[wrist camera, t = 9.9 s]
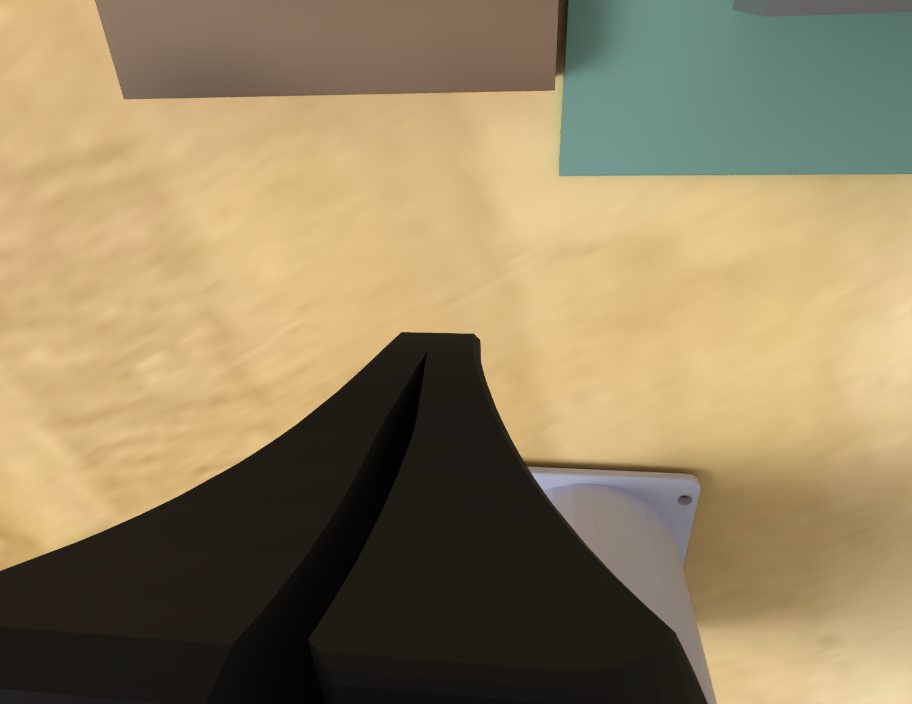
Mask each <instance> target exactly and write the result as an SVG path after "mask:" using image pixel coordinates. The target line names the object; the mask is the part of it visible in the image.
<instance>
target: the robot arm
mask: <svg viewBox="0 0 912 704" xmlns="http://www.w3.org/2000/svg"><path fill="white" fill-rule="evenodd" d="M700 491H701V486H700V483H699V480H698V479H697V477H695V476H694V475H691V474H683V473H661V472H638V471H615V470H593V469H570V468H547V467H527V466H526V464H525V462H524V461H523V459H522V458H521V456H520V454H519V452H518V451H517V449H516V447H515V445H514V443H513V442H512V440H511V438H510V436H509V434H508V432H507V430H506V428H505V426H504V424H503V422H502V420H501V418H500V415H499V413H498V411H497V409H496V406H495V404H494V401H493V398H492V396H491V393H490V391H489V388H488V385H487V382H486V379H485V376H484V372H483V368H482V364H481V345H480V339H479V338H478V337H476V336H475V335H474V334H458V333H411V332H401V333H400V334H399V335H398V336H397V337H396V338H395V339H394V340H393V341H392V342H390V343H389V344H388V345H387V346H386V347H385V348H384V349H383V350H382V351H381V352H380V353H379V354H378V355H377V356H376V357H375V358H374V359H373V360H371V361H370V362H369V363H368V364H367V365H366V366H365V367H364V368H363V369H362V370H361V371H360V372H359V373H358V374H357V375H355V376H354V377H353V378H352V379H351V380H350V381H349V382H348V383H347V384H345V385H344V386H343V387H342V388H341V389H340V390H339V391H338V392H337V393H335V394H334V395H333V396H332V397H330V398H329V399H328V400H327V401H325V402H324V403H323V404H322V405H320V406H319V407H318V408H317V409H315V410H314V411H313V412H312V413H310V414H309V415H308V416H307V417H305V418H304V419H303V420H302V421H300V422H299V423H298V424H297V425H295V426H294V427H292V428H291V429H290V430H288V431H287V432H285V433H284V434H283V435H281V436H280V437H278V438H277V439H275V440H274V441H272V442H271V443H269V444H268V445H266V446H265V447H263V448H262V449H260V450H259V451H257V452H256V453H254V454H252V455H251V456H249V457H248V458H246V459H245V460H243V461H241V462H240V463H238V464H236V465H235V466H233V467H231V468H229V469H227V470H226V471H224V472H222V473H220V474H218V475H216V476H215V477H213V478H211V479H209V480H207V481H206V482H204V483H202V484H200V485H198V486H197V487H195V488H193V489H191V490H189V491H187V492H186V493H184V494H182V495H180V496H178V497H176V498H174V499H172V500H170V501H168V502H166V503H164V504H162V505H160V506H158V507H156V508H154V509H151V510H149V511H147V512H145V513H143V514H141V515H139V516H137V517H134V518H132V519H130V520H128V521H125V522H123V523H121V524H119V525H116V526H114V527H112V528H110V529H107V530H105V531H103V532H100V533H98V534H96V535H93V536H91V537H88V538H86V539H83V540H81V541H79V542H76V543H74V544H71V545H68V546H66V547H63V548H60V549H58V550H55V551H52V552H50V553H47V554H44V555H42V556H39V557H36V558H34V559H31V560H28V561H26V562H23V563H20V564H18V565H15V566H12V567H10V568H7V569H4V570H2V571H0V704H717V702H716V698H715V694H714V690H713V686H712V682H711V678H710V674H709V670H708V666H707V662H706V658H705V654H704V650H703V646H702V642H701V638H700V634H699V630H698V626H697V622H696V618H695V614H694V611H693V607H692V603H691V599H690V595H689V591H688V587H687V583H686V579H685V575H684V571H683V565H684V561H685V556H686V552H687V548H688V543H689V539H690V535H691V530H692V526H693V522H694V517H695V513H696V509H697V504H698V500H699V496H700ZM683 495H688V496H687V497H685V498H680V496H683Z"/></svg>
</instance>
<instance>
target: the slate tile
mask: <svg viewBox="0 0 912 704" xmlns="http://www.w3.org/2000/svg"><path fill="white" fill-rule="evenodd" d="M732 10H734V11H739V12H744V13H749V14H754V15H759V16H763V17H777V16H807V15H838V14H869V13H900V12H912V0H734V4H733V9H732Z"/></svg>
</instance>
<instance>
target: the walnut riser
mask: <svg viewBox="0 0 912 704" xmlns="http://www.w3.org/2000/svg"><path fill="white" fill-rule="evenodd" d="M95 2H96V5H97V9H98V12H99V16H100V19H101V22H102V26H103V29H104V32H105V36H106V39H107V43H108V46H109V49H110V53H111V56H112V60H113V63H114V66H115V70H116V73H117V77H118V80H119V83H120V87H121V90H122V93H123V97H124V99H158V98H207V97H256V96H305V95H353V94H402V93H451V92H500V91H549V90H555V72H556V49H557V27H558V4H559V0H95Z"/></svg>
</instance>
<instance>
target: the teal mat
mask: <svg viewBox="0 0 912 704" xmlns="http://www.w3.org/2000/svg"><path fill="white" fill-rule="evenodd" d="M733 4H734V0H568V5H567V25H566V44H565V64H564V83H563V103H562V122H561V142H560V162H559V176H634V175H805V174H912V12H900V13H869V14H838V15H807V16H777V17H763V16H759V15H754V14H749V13H744V12H739V11H734V10H732V9H733Z"/></svg>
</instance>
